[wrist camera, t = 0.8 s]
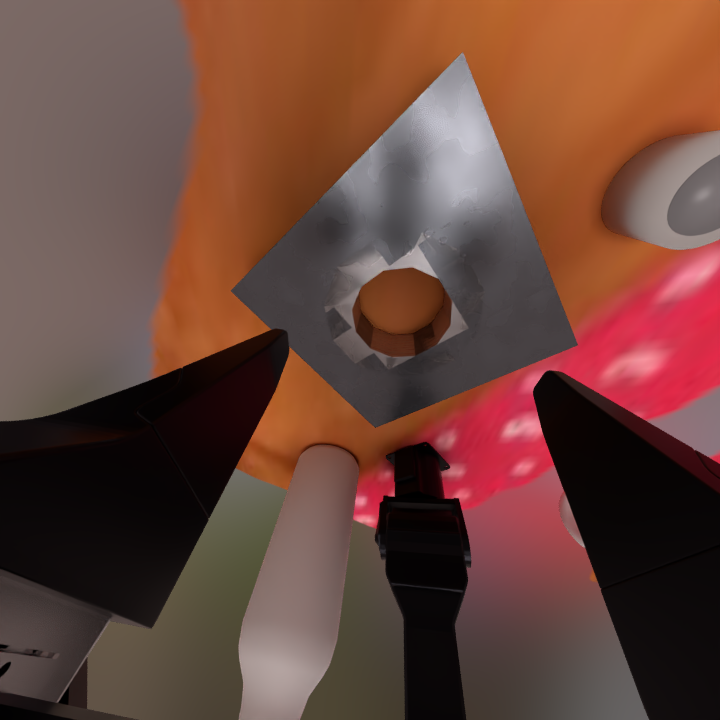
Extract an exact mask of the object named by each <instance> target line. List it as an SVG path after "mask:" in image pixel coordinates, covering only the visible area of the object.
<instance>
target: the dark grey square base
mask: <svg viewBox="0 0 720 720" xmlns="http://www.w3.org/2000/svg"><path fill="white" fill-rule="evenodd" d="M410 267H413V268H416V269H418V270H420V271H422V272H424V273H427V274H429V275H431V276H433V277H435V278H438V279H439V280H440V282H441V284H442V285H443V287H444V305H443V307H442V308H441V310H440V311H439V313H438V314H437V316H436V317H435V319H434V321H433V322H432V323H431V324H429V325H428V326H426V327H424V328H422V329H421V330H419V331H417V332H415V333H413V334H401V335H391V334H389V333H386V332H384V331H381V330H379V329H376V328H374V327H373V326H372V325H371V323H370V322H369V321H368V320H367V319H366V317H365V316H364V315H363V314H362V313H361V308H360V302H359V296H358V293H359V291H360V289H361V287H362V286H363V285H364V284H366V283H367V282H369V281H370V280H371V279H373V278H374V277H375V276H377V275H378V274H379V273H381V272H382V271H384V270H392V269H401V268H410ZM231 292H232V293H234V294H235V295H236V296H237V297H238V298H239V299H240V300H241V301H242V302H243V303H244V304H245V305H246V306H247V307H248V308H249V309H250V310H251V311H253V312H254V313H255V314H256V315H257V316H258V317H259V318H260V319H261V320H262V321H263V322H264V323H265V324H266V325H267V326H268V327H269V328H270V329H275V328H277V329H284V330H286V331H287V332H288V340H289V347H291V348H292V349H293V350H294V351H295V352H296V353H297V354H298V355H299V356H300V357H301V358H302V359H303V360H304V361H305V362H306V363H307V364H308V365H310V366H311V367H312V368H313V369H314V370H315V371H316V372H317V373H318V374H319V375H320V376H321V377H322V378H323V379H324V380H325V381H326V382H327V383H328V384H330V385H331V386H332V387H333V388H334V389H335V390H336V391H337V392H338V393H339V394H340V395H341V396H342V397H343V398H344V399H345V400H346V401H347V402H349V403H350V404H351V405H352V406H353V407H354V408H355V409H356V410H357V411H358V412H359V413H360V414H361V415H362V416H363V417H364V418H365V419H366V420H368V421H369V422H370V423H371V424H372V425H373V426H374V427H375V428H376V427H378V426H381V425H383V424H386V423H388V422H391V421H393V420H396V419H398V418H401V417H403V416H405V415H408V414H410V413H413V412H415V411H418V410H420V409H423V408H425V407H428V406H430V405H432V404H435V403H437V402H440V401H442V400H445V399H447V398H450V397H452V396H454V395H457V394H459V393H462V392H464V391H467V390H469V389H472V388H474V387H477V386H479V385H481V384H484V383H486V382H489V381H491V380H494V379H496V378H499V377H501V376H504V375H506V374H508V373H511V372H513V371H516V370H518V369H521V368H523V367H526V366H528V365H530V364H533V363H535V362H538V361H540V360H543V359H545V358H548V357H550V356H553V355H555V354H557V353H560V352H562V351H565V350H567V349H570V348H572V347H575V346H577V345H578V344H577V342H576V339H575V337H574V334H573V331H572V329H571V326H570V324H569V321H568V319H567V316H566V314H565V311H564V309H563V306H562V303H561V301H560V298H559V296H558V293H557V291H556V288H555V286H554V283H553V281H552V278H551V275H550V273H549V270H548V268H547V265H546V263H545V260H544V258H543V255H542V253H541V250H540V247H539V245H538V242H537V240H536V237H535V235H534V232H533V230H532V227H531V225H530V222H529V219H528V217H527V214H526V212H525V209H524V207H523V204H522V202H521V199H520V197H519V194H518V191H517V189H516V186H515V184H514V181H513V179H512V176H511V174H510V171H509V169H508V166H507V163H506V161H505V158H504V156H503V153H502V151H501V148H500V146H499V143H498V141H497V138H496V135H495V133H494V130H493V128H492V125H491V123H490V120H489V118H488V115H487V113H486V110H485V107H484V105H483V102H482V100H481V97H480V95H479V92H478V90H477V87H476V85H475V82H474V79H473V77H472V74H471V72H470V69H469V67H468V64H467V62H466V59H465V57H464V54H463V52H462V53H461V54H460V55H459V56H458V57H457V58H456V59H455V60H454V61H453V62H452V64H451V65H450V66H449V67H448V68H447V69H446V70H445V71H444V72H443V73H442V74H441V75H440V76H439V77H438V78H437V79H436V80H435V81H434V82H433V83H432V84H431V85H430V86H429V87H428V88H427V89H426V90H425V91H424V92H423V93H422V94H421V95H420V96H419V97H418V99H417V100H416V101H415V102H414V103H413V104H412V105H411V106H410V107H409V108H408V109H407V110H406V111H405V112H404V113H403V114H402V115H401V116H400V117H399V118H398V119H397V120H396V121H395V122H394V123H393V124H392V125H391V126H390V127H389V128H388V129H387V130H386V131H385V132H384V134H383V135H382V136H381V137H380V138H379V139H378V140H377V141H376V142H375V143H374V144H373V145H372V146H371V147H370V148H369V149H368V150H367V151H366V152H365V153H364V154H363V155H362V156H361V157H360V158H359V159H358V160H357V161H356V162H355V163H354V164H353V165H352V166H351V167H350V169H349V170H348V171H347V172H346V173H345V174H344V175H343V176H342V177H341V178H340V179H339V180H338V181H337V182H336V183H335V184H334V185H333V186H332V187H331V188H330V189H329V190H328V191H327V192H326V193H325V194H324V195H323V196H322V197H321V198H320V199H319V200H318V201H317V203H316V204H315V205H314V206H313V207H312V208H311V209H310V210H309V211H308V212H307V213H306V214H305V215H304V216H303V217H302V218H301V219H300V220H299V221H298V222H297V223H296V224H295V225H294V226H293V227H292V228H291V229H290V230H289V231H288V232H287V233H286V234H285V235H284V236H283V238H282V239H281V240H280V241H279V242H278V243H277V244H276V245H275V246H274V247H273V248H272V249H271V250H270V251H269V252H268V253H267V254H266V255H265V256H264V257H263V258H262V259H261V260H260V261H259V262H258V263H257V264H256V265H255V266H254V267H253V268H252V269H251V270H250V271H249V273H248V274H247V275H246V276H245V277H244V278H243V279H242V280H241V281H240V282H239V283H238V284H237V285H236V286H235V287H234V288H233V289H232V290H231Z"/></svg>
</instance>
